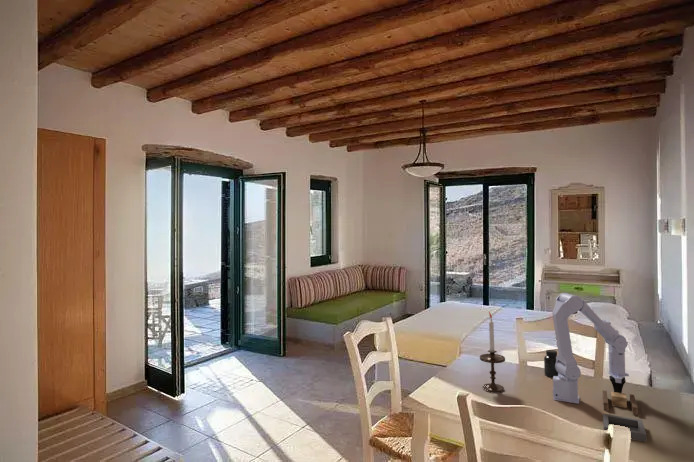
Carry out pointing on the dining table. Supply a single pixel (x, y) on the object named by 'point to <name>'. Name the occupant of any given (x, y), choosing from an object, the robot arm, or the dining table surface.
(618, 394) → the oak block
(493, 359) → the candlestick
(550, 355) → the supplement bottle
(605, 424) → the trap pit
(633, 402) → the walnut channel
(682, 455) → the dining table surface
